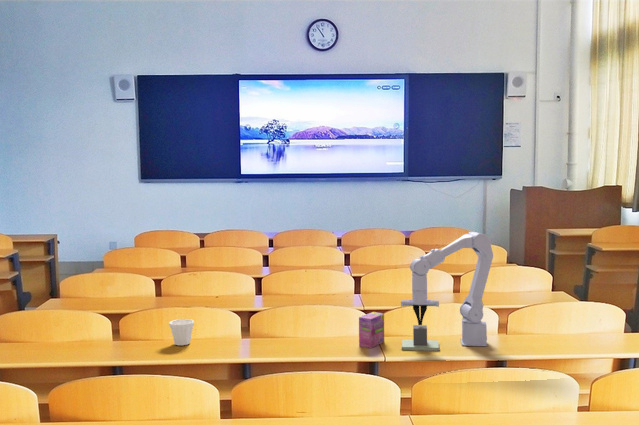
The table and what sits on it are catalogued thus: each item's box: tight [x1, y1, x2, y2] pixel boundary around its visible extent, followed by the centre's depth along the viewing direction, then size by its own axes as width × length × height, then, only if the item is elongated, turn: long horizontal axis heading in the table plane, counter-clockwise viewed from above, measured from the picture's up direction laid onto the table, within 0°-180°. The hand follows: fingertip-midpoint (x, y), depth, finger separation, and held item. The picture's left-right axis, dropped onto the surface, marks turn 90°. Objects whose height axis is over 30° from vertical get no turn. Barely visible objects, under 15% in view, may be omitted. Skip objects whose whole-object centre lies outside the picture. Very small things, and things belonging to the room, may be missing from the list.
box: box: [358, 311, 385, 349], centre depth 249 cm, size 10×6×12 cm, turn 143°
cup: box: [168, 318, 195, 347], centre depth 255 cm, size 10×10×9 cm
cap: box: [412, 324, 428, 346], centre depth 244 cm, size 5×5×7 cm
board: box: [401, 339, 440, 352], centre depth 245 cm, size 14×10×1 cm
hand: (420, 324), depth 244 cm, fingers closed
